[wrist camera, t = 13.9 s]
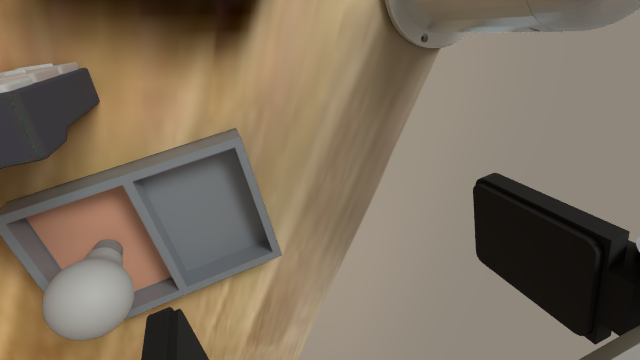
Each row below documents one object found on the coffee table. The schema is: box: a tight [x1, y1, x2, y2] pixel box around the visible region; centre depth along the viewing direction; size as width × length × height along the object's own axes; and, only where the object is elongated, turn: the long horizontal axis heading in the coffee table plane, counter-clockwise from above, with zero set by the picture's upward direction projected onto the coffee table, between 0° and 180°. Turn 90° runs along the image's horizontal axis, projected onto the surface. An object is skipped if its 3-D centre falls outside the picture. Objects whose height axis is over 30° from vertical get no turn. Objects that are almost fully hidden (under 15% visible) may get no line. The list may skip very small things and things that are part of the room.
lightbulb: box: [42, 239, 134, 341], centre depth 31 cm, size 6×6×11 cm
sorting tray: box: [0, 128, 282, 320], centre depth 36 cm, size 21×14×4 cm, turn 103°
